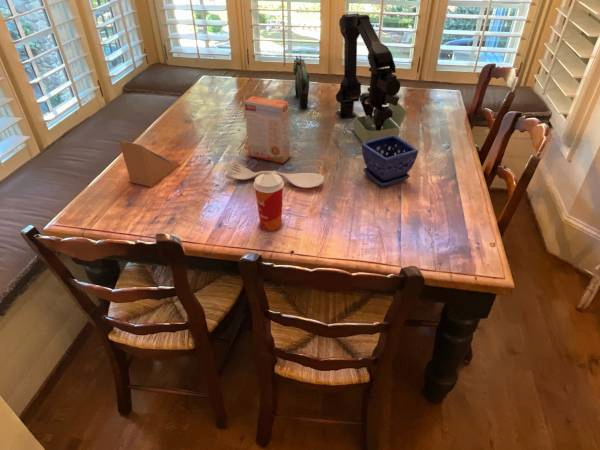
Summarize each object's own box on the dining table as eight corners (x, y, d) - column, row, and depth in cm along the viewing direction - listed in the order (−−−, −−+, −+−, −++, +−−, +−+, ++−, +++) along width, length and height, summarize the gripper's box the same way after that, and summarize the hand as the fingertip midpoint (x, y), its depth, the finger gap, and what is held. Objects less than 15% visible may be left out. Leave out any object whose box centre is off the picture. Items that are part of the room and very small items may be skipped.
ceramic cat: (292, 94, 206) (292, 50, 194) (306, 93, 207) (306, 50, 195) (297, 110, 191) (296, 64, 179) (311, 110, 191) (312, 63, 179)
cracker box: (290, 157, 157) (289, 101, 144) (283, 164, 153) (281, 107, 140) (256, 149, 162) (252, 94, 149) (248, 156, 158) (243, 100, 145)
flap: (391, 97, 169) (392, 97, 169) (385, 112, 172) (385, 112, 173) (406, 110, 159) (407, 111, 159) (399, 126, 162) (400, 126, 162)
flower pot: (381, 192, 138) (385, 159, 131) (357, 173, 148) (360, 141, 140) (414, 182, 143) (420, 149, 136) (389, 164, 152) (393, 133, 145)
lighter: (382, 136, 169) (384, 117, 164) (380, 138, 168) (383, 119, 163) (364, 133, 171) (366, 114, 166) (363, 135, 170) (364, 116, 165)
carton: (353, 131, 174) (354, 117, 171) (383, 127, 176) (385, 113, 173) (365, 146, 163) (367, 132, 160) (397, 142, 166) (399, 128, 162)
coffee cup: (256, 216, 128) (253, 172, 119) (284, 215, 129) (283, 171, 120) (256, 234, 122) (252, 189, 112) (286, 232, 122) (284, 187, 113)
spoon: (233, 170, 150) (232, 161, 148) (325, 178, 145) (326, 169, 143) (225, 183, 143) (224, 174, 141) (321, 193, 138) (321, 184, 136)
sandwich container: (179, 165, 153) (171, 125, 144) (151, 187, 141) (141, 145, 132) (158, 161, 155) (150, 121, 146) (130, 181, 144) (118, 140, 135)
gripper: (409, 93, 152) (403, 134, 161) (388, 76, 166) (383, 115, 176) (379, 96, 150) (374, 138, 159) (360, 78, 164) (357, 117, 174)
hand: (373, 126), depth 167 cm, fingers open, 9 cm apart
